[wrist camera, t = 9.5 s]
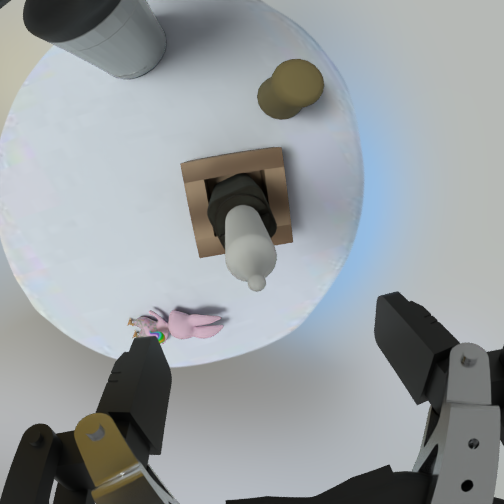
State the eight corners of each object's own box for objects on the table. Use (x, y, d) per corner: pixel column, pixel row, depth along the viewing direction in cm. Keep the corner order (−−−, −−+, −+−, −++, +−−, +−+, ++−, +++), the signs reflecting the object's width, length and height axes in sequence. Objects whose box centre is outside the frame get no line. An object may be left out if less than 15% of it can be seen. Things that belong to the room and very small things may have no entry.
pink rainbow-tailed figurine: (143, 335, 46) (228, 332, 44) (129, 358, 40) (222, 357, 38) (130, 304, 43) (219, 297, 42) (114, 325, 38) (211, 321, 36)
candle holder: (187, 161, 36) (180, 163, 30) (272, 147, 36) (281, 147, 30) (203, 241, 39) (199, 258, 34) (283, 228, 40) (293, 242, 34)
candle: (209, 186, 36) (181, 262, 13) (247, 169, 36) (288, 213, 12) (227, 221, 38) (231, 345, 14) (263, 205, 37) (325, 306, 14)
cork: (275, 128, 35) (294, 121, 25) (247, 91, 33) (256, 69, 23) (312, 105, 34) (344, 91, 24) (286, 68, 32) (308, 41, 22)
